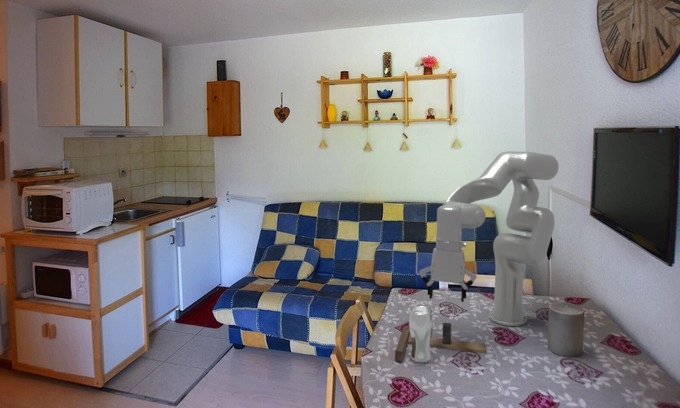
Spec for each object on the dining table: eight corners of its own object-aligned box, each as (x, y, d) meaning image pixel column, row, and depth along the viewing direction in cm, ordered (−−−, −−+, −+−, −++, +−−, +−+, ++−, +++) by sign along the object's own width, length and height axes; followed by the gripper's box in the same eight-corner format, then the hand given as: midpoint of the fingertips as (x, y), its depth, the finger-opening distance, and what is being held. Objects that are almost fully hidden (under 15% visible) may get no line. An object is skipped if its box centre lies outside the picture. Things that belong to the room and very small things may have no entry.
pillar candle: (579, 345, 138) (581, 299, 135) (585, 359, 128) (587, 311, 126) (545, 341, 141) (547, 296, 139) (548, 355, 132) (550, 307, 130)
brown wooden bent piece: (485, 345, 138) (486, 325, 137) (487, 374, 121) (488, 351, 120) (404, 336, 146) (404, 316, 145) (395, 361, 129) (395, 340, 128)
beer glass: (432, 364, 127) (433, 315, 125) (408, 362, 129) (408, 314, 126) (432, 353, 134) (433, 306, 132) (409, 351, 135) (409, 305, 133)
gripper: (477, 244, 135) (475, 297, 138) (421, 241, 140) (420, 292, 143) (478, 250, 128) (475, 306, 131) (418, 246, 133) (417, 300, 136)
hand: (446, 298), depth 137 cm, fingers open, 9 cm apart
